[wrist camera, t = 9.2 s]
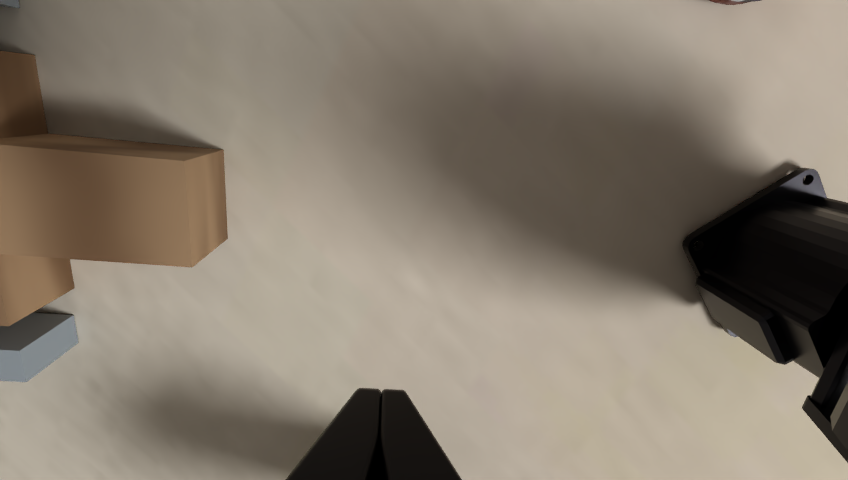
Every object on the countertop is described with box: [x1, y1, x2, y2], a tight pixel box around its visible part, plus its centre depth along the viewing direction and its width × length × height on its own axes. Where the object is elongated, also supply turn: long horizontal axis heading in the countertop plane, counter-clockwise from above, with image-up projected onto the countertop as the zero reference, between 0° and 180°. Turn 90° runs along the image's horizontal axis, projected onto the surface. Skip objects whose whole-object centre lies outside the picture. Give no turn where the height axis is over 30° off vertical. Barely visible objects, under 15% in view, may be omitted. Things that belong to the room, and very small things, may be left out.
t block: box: [0, 51, 228, 326], centre depth 17 cm, size 11×10×4 cm
